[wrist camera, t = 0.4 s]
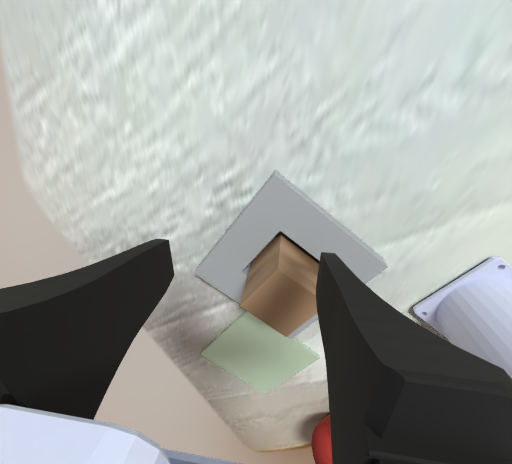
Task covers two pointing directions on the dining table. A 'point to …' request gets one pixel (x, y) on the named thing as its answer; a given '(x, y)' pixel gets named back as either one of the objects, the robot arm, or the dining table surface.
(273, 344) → the felt mat
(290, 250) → the walnut block
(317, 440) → the onion
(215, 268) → the pocket board
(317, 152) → the dining table surface
